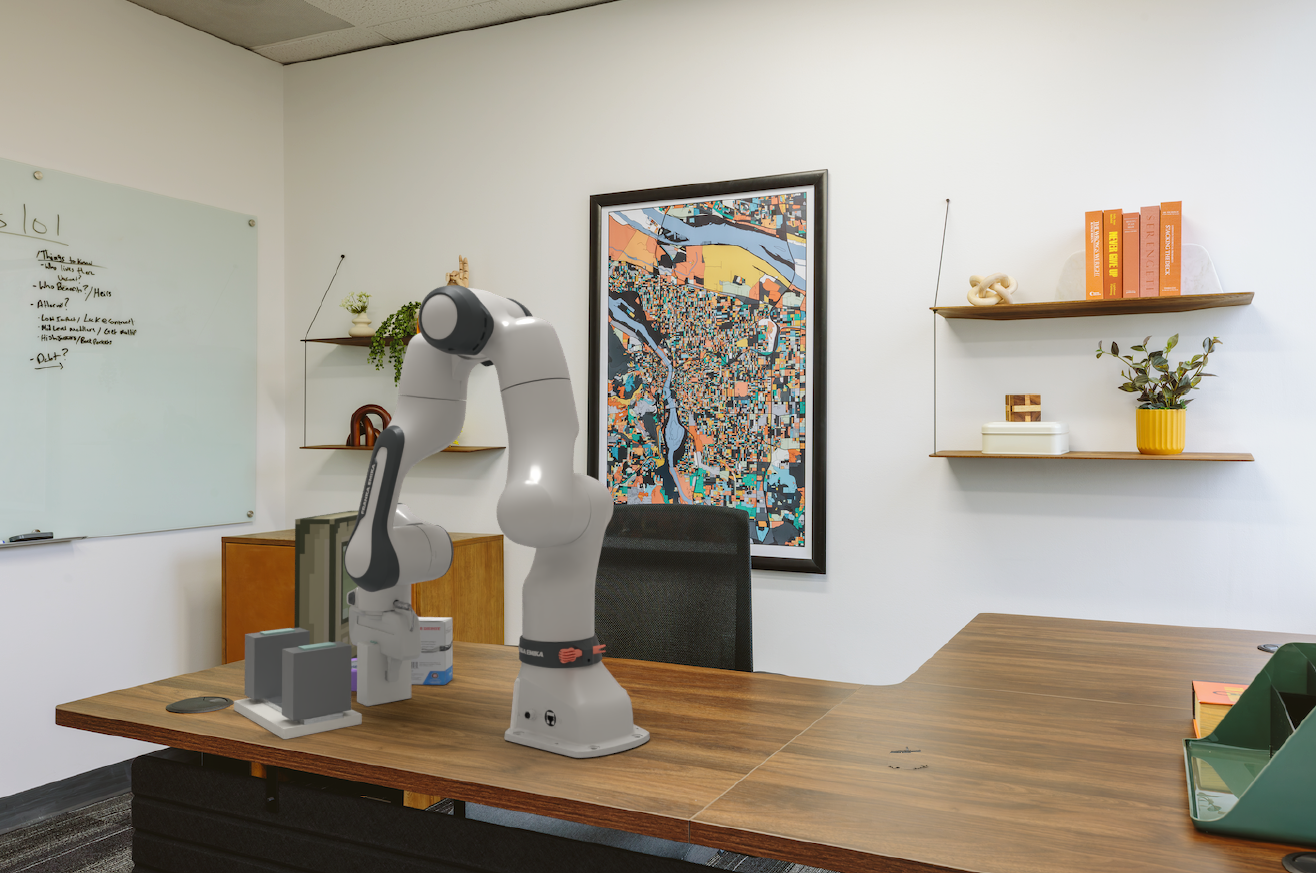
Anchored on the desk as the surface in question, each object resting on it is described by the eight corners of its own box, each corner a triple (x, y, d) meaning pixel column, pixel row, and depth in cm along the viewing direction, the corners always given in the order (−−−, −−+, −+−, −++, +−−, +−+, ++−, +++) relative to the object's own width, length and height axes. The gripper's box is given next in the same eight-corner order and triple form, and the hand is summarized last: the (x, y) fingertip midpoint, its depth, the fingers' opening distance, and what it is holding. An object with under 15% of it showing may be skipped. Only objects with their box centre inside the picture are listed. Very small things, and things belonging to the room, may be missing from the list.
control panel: (333, 678, 176) (334, 519, 176) (294, 678, 176) (295, 519, 176) (384, 646, 206) (385, 510, 206) (350, 646, 206) (351, 510, 206)
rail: (343, 717, 143) (343, 712, 143) (304, 725, 139) (304, 719, 139) (288, 691, 159) (289, 686, 159) (252, 697, 155) (252, 692, 155)
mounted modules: (351, 710, 145) (351, 643, 145) (293, 721, 139) (293, 651, 139) (298, 685, 160) (299, 625, 160) (244, 694, 154) (245, 632, 154)
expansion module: (411, 697, 161) (411, 638, 161) (367, 706, 155) (367, 644, 155) (400, 693, 164) (400, 635, 164) (356, 701, 158) (357, 641, 158)
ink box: (453, 679, 175) (454, 616, 175) (445, 685, 170) (445, 620, 170) (409, 678, 176) (410, 615, 176) (399, 684, 171) (400, 620, 171)
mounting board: (361, 723, 145) (361, 714, 145) (284, 739, 137) (284, 729, 137) (306, 697, 161) (306, 688, 161) (233, 709, 153) (234, 700, 153)
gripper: (430, 602, 154) (430, 686, 154) (375, 589, 169) (375, 666, 169) (395, 606, 150) (395, 692, 150) (342, 593, 165) (341, 671, 165)
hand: (384, 678), depth 159 cm, fingers closed on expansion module, 4 cm apart
